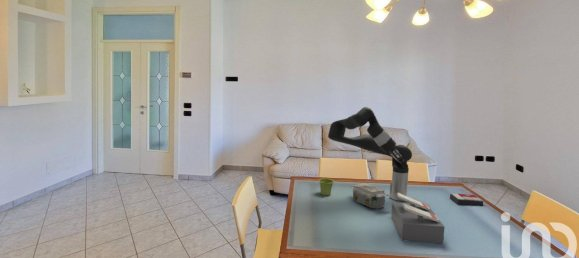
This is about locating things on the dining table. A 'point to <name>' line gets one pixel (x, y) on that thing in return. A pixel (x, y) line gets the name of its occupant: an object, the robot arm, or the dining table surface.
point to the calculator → (466, 199)
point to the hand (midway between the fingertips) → (406, 167)
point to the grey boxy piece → (369, 195)
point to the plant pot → (326, 186)
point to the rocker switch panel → (416, 225)
